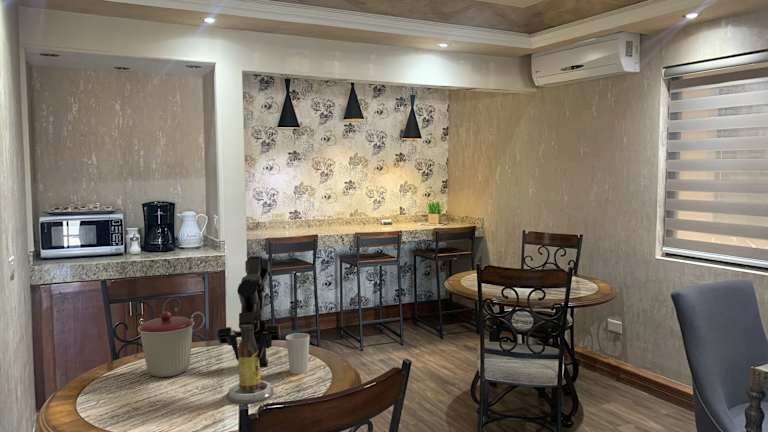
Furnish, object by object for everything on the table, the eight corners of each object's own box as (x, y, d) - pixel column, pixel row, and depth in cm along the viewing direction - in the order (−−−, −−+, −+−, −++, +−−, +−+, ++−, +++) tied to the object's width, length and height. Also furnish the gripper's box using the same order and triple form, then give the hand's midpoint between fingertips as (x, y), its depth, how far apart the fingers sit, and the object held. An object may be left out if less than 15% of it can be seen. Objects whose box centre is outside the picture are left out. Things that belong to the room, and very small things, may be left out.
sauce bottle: (261, 390, 180) (258, 326, 178) (239, 393, 178) (236, 328, 176) (260, 383, 186) (257, 321, 184) (239, 385, 185) (236, 322, 183)
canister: (128, 378, 199) (124, 316, 198) (167, 361, 216) (163, 304, 214) (171, 384, 193) (167, 320, 191) (207, 366, 209) (204, 307, 208)
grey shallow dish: (229, 388, 188) (228, 381, 188) (274, 384, 190) (273, 377, 190) (224, 405, 174) (224, 398, 174) (273, 401, 176) (272, 394, 176)
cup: (288, 367, 206) (286, 333, 205) (311, 366, 207) (310, 332, 206) (286, 375, 198) (284, 340, 197) (310, 374, 199) (309, 339, 198)
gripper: (216, 302, 183) (212, 348, 173) (278, 299, 185) (277, 344, 175) (221, 320, 191) (218, 365, 181) (280, 317, 193) (280, 361, 184)
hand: (248, 359), depth 180 cm, fingers closed on sauce bottle, 6 cm apart
